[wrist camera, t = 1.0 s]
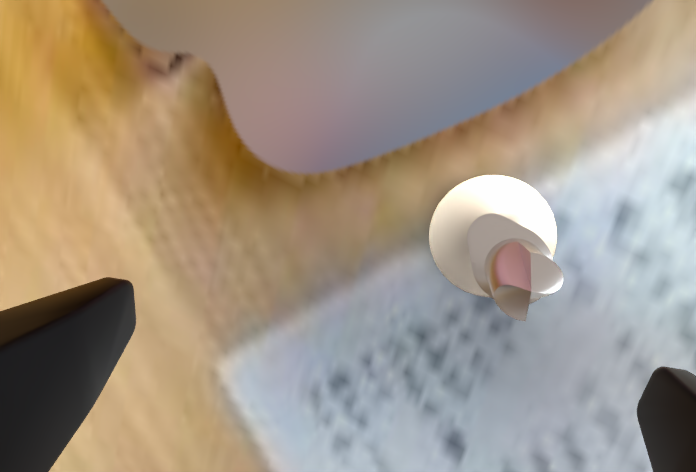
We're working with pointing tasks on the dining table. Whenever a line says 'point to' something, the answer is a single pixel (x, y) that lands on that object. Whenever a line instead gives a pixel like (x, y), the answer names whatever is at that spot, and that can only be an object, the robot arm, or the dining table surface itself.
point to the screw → (497, 242)
